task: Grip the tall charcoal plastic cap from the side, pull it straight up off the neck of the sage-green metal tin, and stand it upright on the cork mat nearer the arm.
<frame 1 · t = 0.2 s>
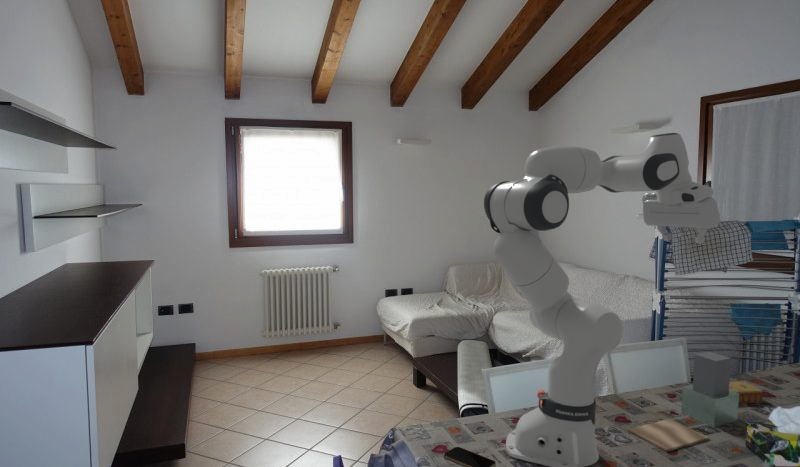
hand: (683, 241, 141), 52 cm above the table, tool tilted 15°, fingers open, 8 cm apart
mat: (667, 435, 140), on the table
cap: (710, 389, 151), point 8 cm above the table, touching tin
carton: (728, 399, 165), on the table
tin: (708, 416, 151), on the table
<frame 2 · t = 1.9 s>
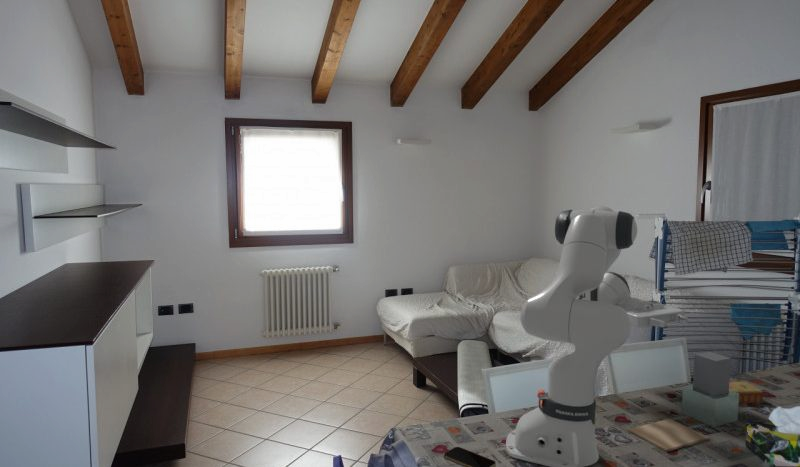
hand: (676, 323, 160), 25 cm above the table, tool horizontal, fingers open, 8 cm apart
nothing on the table moved.
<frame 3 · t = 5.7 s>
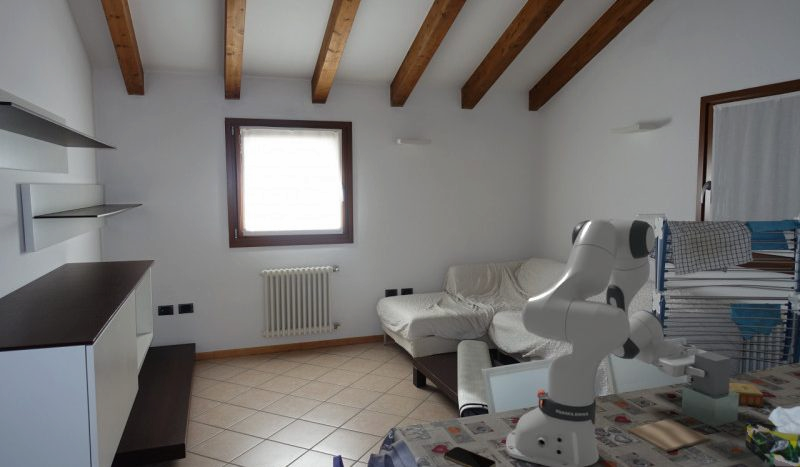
hand: (714, 372, 149), 14 cm above the table, tool horizontal, fingers closed on cap, 6 cm apart
cap: (710, 389, 151), point 8 cm above the table, touching gripper, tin
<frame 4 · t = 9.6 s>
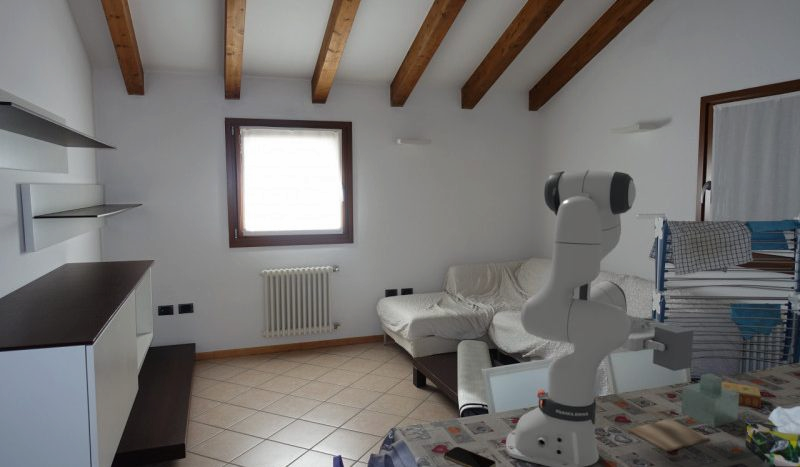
hand: (676, 346, 137), 25 cm above the table, tool horizontal, fingers closed on cap, 6 cm apart
cap: (671, 365, 138), point 19 cm above the table, touching gripper
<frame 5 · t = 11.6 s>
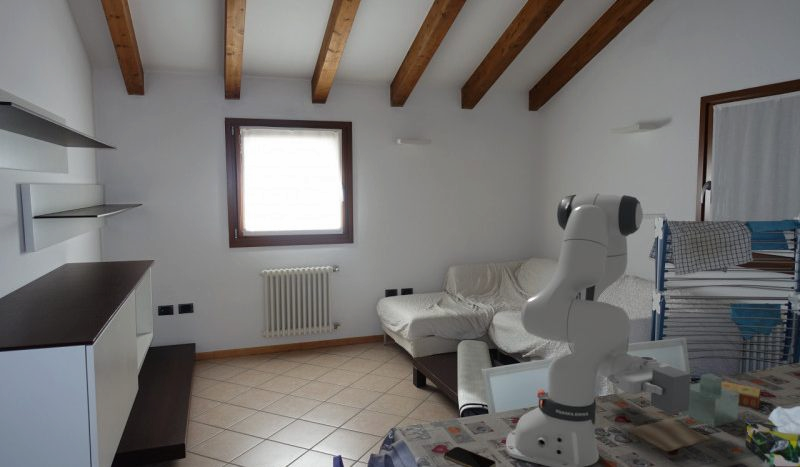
hand: (673, 389, 138), 13 cm above the table, tool horizontal, fingers closed on cap, 6 cm apart
cap: (669, 407, 139), point 8 cm above the table, touching gripper
when the fingers open (8 cm above the table, at t = 13.3 s): cap drops 2 cm, resting on mat.
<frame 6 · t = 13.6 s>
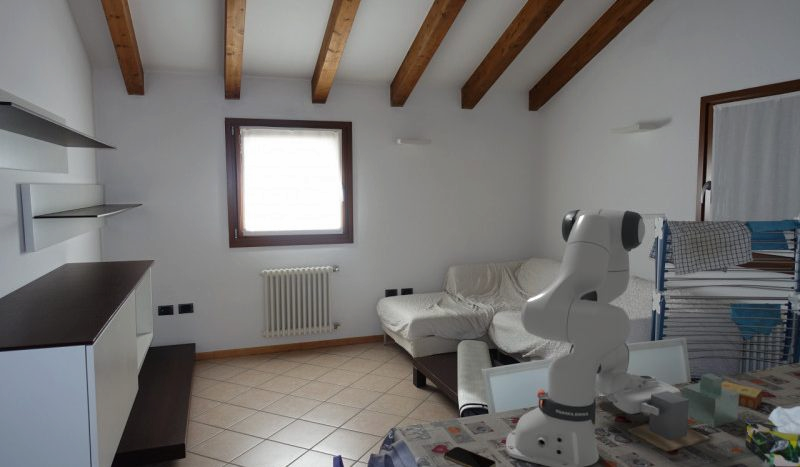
hand: (672, 409, 138), 8 cm above the table, tool horizontal, fingers open, 8 cm apart
cap: (667, 433, 140), point 1 cm above the table, touching mat
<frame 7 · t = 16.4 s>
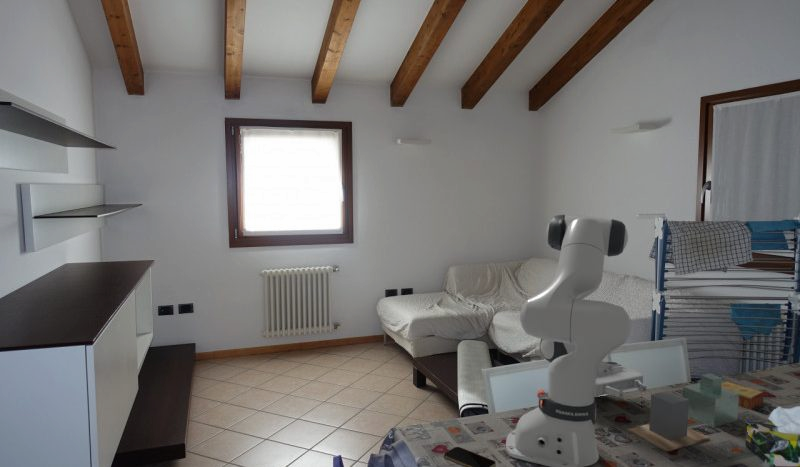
hand: (633, 391, 150), 8 cm above the table, tool horizontal, fingers open, 8 cm apart
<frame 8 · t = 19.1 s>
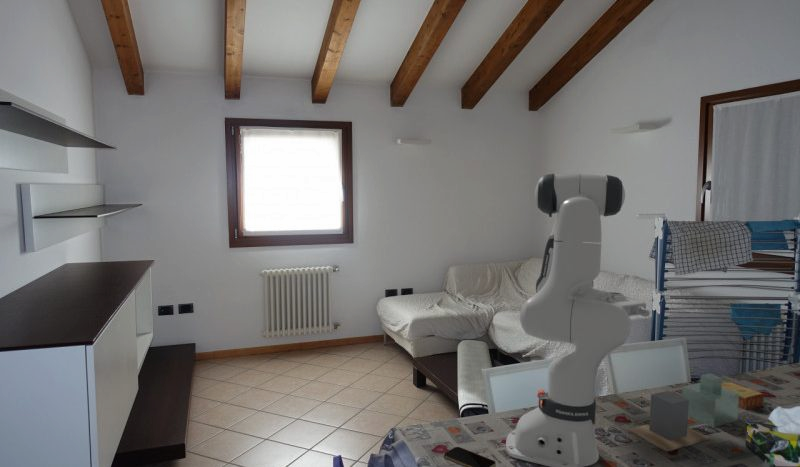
hand: (636, 315, 148), 30 cm above the table, tool horizontal, fingers open, 8 cm apart
at the end: cap inside the target area on the mat (0.0 cm from its centre), point 0.6 cm above the mat's base; cap tilted 0°; the gripper is holding nothing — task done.
